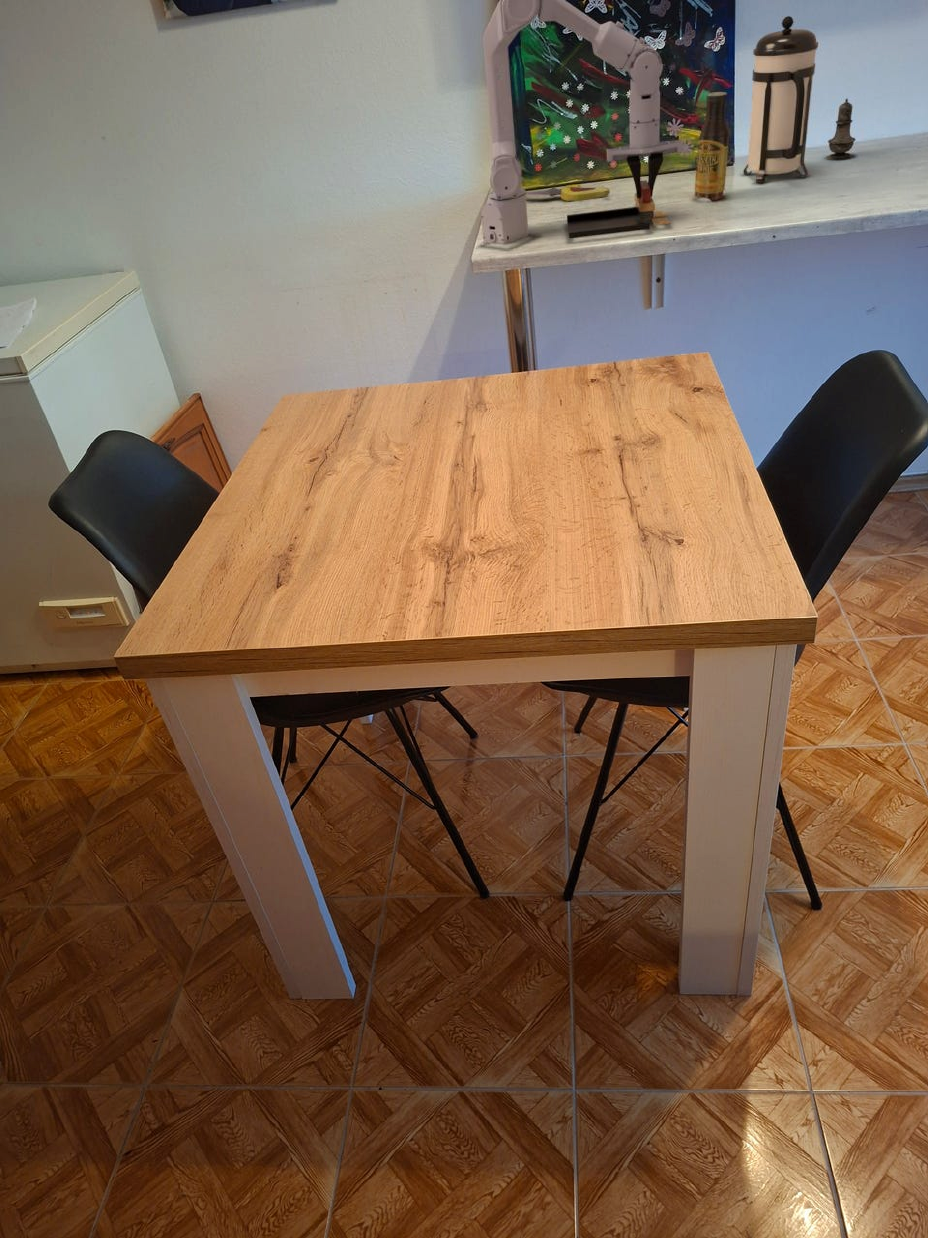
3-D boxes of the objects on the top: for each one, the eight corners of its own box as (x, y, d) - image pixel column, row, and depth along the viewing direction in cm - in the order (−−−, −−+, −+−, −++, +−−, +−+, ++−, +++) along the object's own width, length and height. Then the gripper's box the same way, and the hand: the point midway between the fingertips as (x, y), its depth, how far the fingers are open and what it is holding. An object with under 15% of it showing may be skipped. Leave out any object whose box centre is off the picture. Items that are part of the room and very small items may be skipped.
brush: (639, 219, 174) (639, 191, 171) (634, 206, 182) (634, 179, 179) (654, 217, 174) (655, 189, 171) (649, 204, 182) (649, 177, 179)
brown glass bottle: (688, 201, 189) (692, 96, 177) (704, 193, 192) (708, 90, 180) (715, 203, 185) (721, 96, 173) (731, 195, 188) (737, 89, 176)
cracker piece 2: (653, 230, 176) (653, 223, 175) (651, 224, 179) (651, 218, 178) (668, 228, 175) (668, 222, 174) (666, 223, 178) (666, 216, 178)
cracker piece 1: (649, 223, 180) (649, 217, 179) (647, 218, 183) (647, 212, 182) (664, 221, 179) (664, 215, 179) (662, 216, 183) (662, 210, 182)
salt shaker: (828, 161, 201) (835, 101, 194) (824, 155, 205) (830, 97, 198) (855, 158, 200) (863, 98, 192) (850, 152, 204) (858, 94, 197)
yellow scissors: (503, 204, 208) (603, 202, 197) (502, 192, 207) (602, 190, 196) (517, 195, 213) (614, 193, 203) (516, 183, 212) (614, 181, 201)
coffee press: (724, 182, 198) (732, 24, 179) (764, 165, 205) (775, 12, 187) (793, 188, 187) (809, 20, 168) (833, 170, 194) (852, 7, 176)
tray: (569, 243, 176) (569, 232, 175) (567, 224, 187) (566, 214, 186) (650, 233, 174) (650, 223, 173) (642, 215, 185) (642, 205, 184)
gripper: (608, 128, 166) (609, 205, 174) (685, 118, 164) (683, 196, 172) (605, 122, 171) (607, 196, 179) (680, 112, 169) (678, 188, 178)
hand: (644, 196), depth 176 cm, fingers closed on brush, 2 cm apart
